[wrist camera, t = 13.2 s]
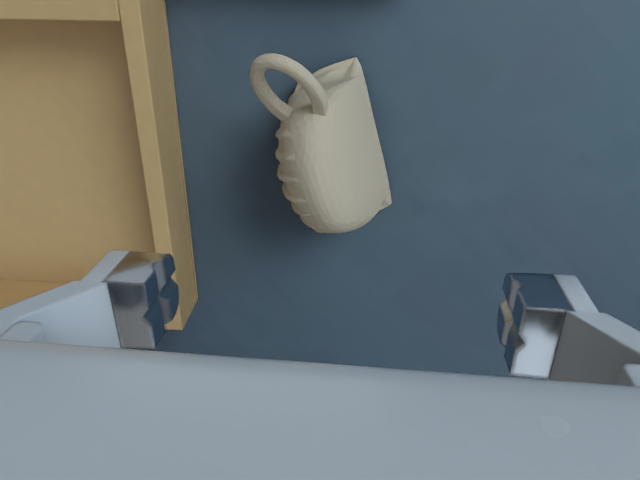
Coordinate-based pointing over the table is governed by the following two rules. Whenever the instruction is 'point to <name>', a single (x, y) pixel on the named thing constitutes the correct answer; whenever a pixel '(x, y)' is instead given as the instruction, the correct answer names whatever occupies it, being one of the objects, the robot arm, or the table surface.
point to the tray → (88, 144)
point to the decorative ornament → (326, 143)
